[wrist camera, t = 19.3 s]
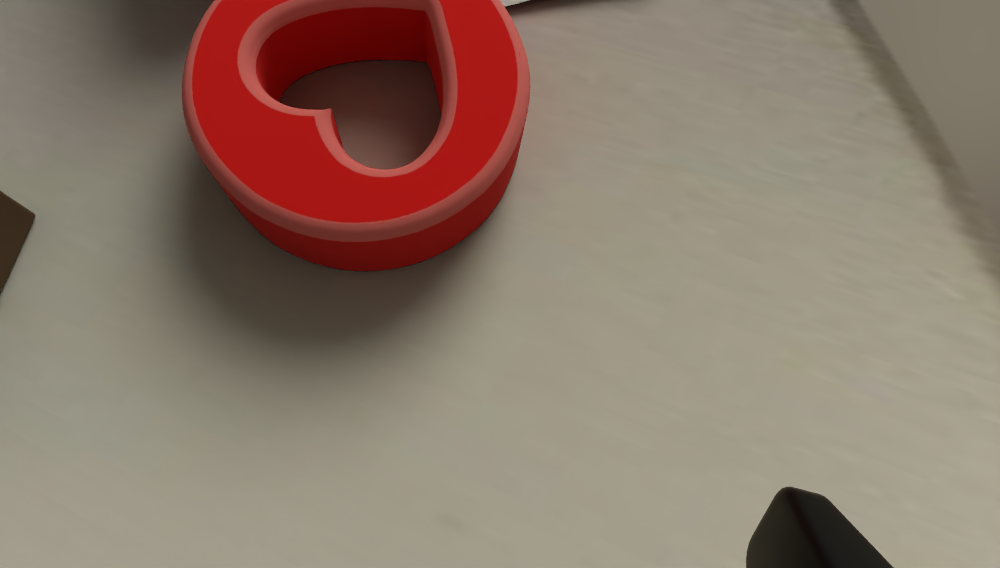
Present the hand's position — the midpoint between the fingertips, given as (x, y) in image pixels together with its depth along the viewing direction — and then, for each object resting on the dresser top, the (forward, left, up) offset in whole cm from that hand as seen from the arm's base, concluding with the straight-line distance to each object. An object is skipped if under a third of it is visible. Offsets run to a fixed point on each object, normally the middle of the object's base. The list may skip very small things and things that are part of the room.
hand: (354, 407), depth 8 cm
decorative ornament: (+10, +4, -14) cm, 17 cm away
